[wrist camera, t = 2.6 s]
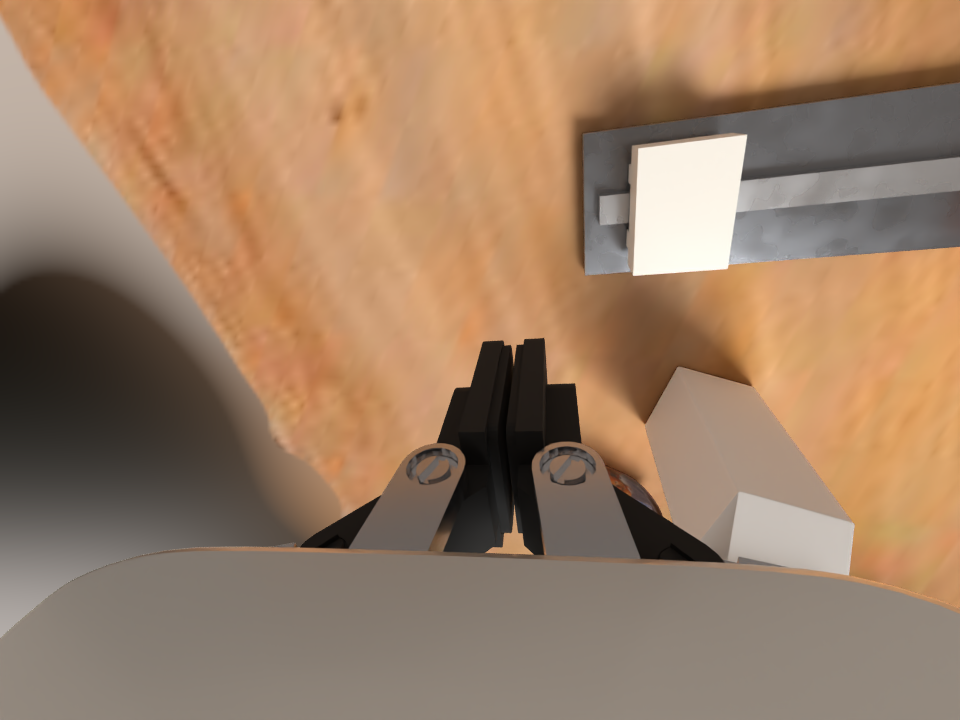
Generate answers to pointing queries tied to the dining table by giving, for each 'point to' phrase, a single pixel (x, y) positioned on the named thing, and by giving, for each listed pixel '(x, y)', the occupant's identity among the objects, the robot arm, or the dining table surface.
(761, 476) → the milk carton
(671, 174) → the slider
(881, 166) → the rail
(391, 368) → the dining table surface
